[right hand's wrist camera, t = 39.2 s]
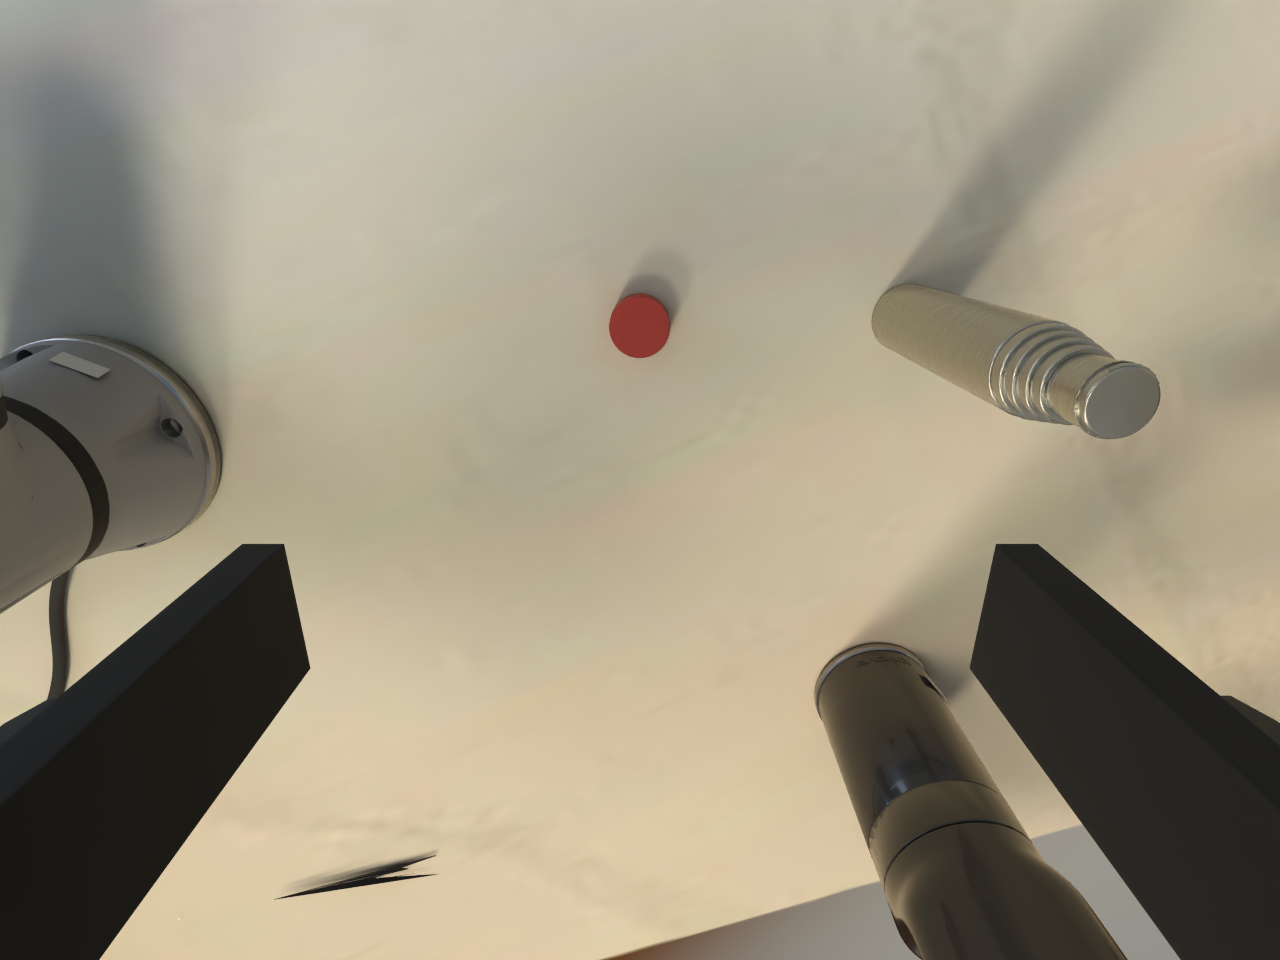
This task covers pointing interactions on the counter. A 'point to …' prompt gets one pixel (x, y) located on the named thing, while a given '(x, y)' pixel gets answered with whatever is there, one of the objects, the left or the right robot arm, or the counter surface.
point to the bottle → (1018, 361)
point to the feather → (363, 880)
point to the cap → (639, 325)
